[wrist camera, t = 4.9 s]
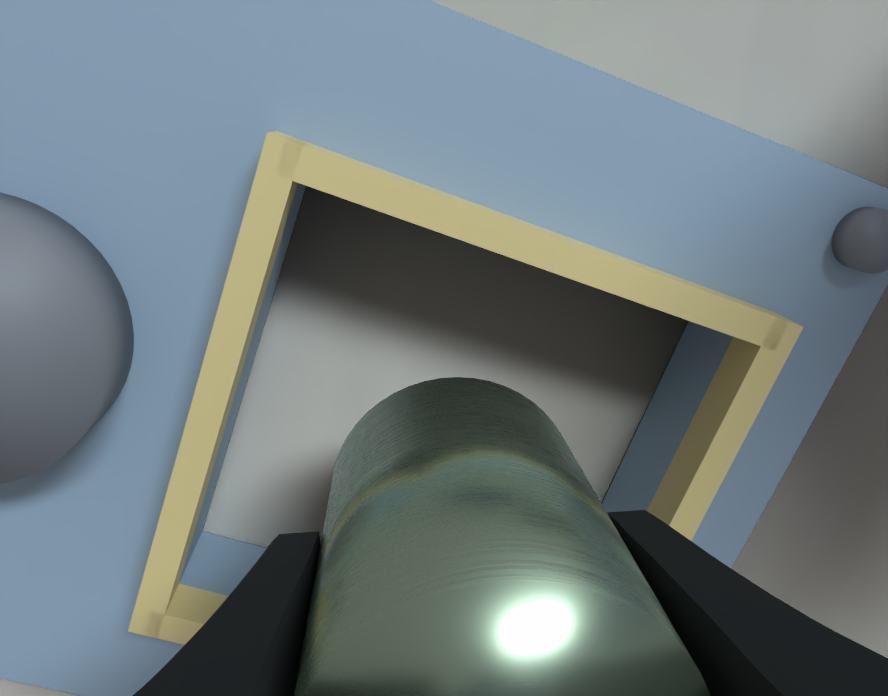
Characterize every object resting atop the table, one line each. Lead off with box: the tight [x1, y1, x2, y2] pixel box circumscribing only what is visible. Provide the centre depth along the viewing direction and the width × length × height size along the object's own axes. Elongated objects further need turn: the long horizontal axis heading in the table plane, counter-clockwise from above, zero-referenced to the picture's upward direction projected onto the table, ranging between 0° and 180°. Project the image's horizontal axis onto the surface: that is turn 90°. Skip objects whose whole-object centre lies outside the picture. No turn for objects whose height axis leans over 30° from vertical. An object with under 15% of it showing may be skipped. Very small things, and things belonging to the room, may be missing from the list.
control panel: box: [0, 0, 888, 696], centre depth 15 cm, size 20×16×4 cm
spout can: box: [294, 377, 711, 696], centre depth 10 cm, size 4×6×7 cm
